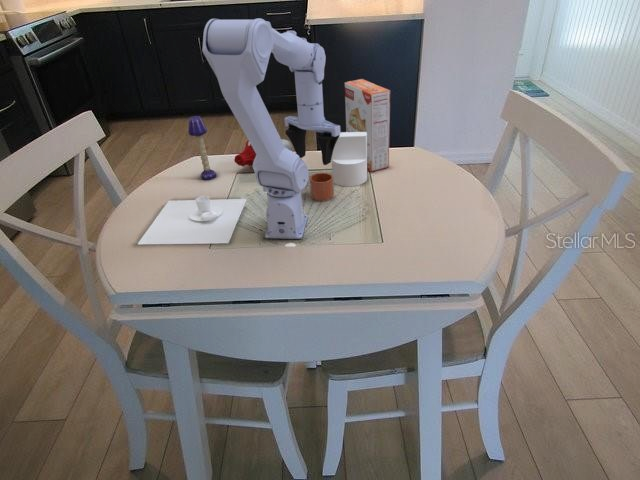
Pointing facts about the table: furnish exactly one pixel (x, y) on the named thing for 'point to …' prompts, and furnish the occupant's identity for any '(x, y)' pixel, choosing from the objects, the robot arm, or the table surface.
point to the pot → (321, 186)
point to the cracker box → (369, 119)
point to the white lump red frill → (254, 154)
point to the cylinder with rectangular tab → (350, 159)
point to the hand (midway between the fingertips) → (314, 160)
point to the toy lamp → (201, 145)
